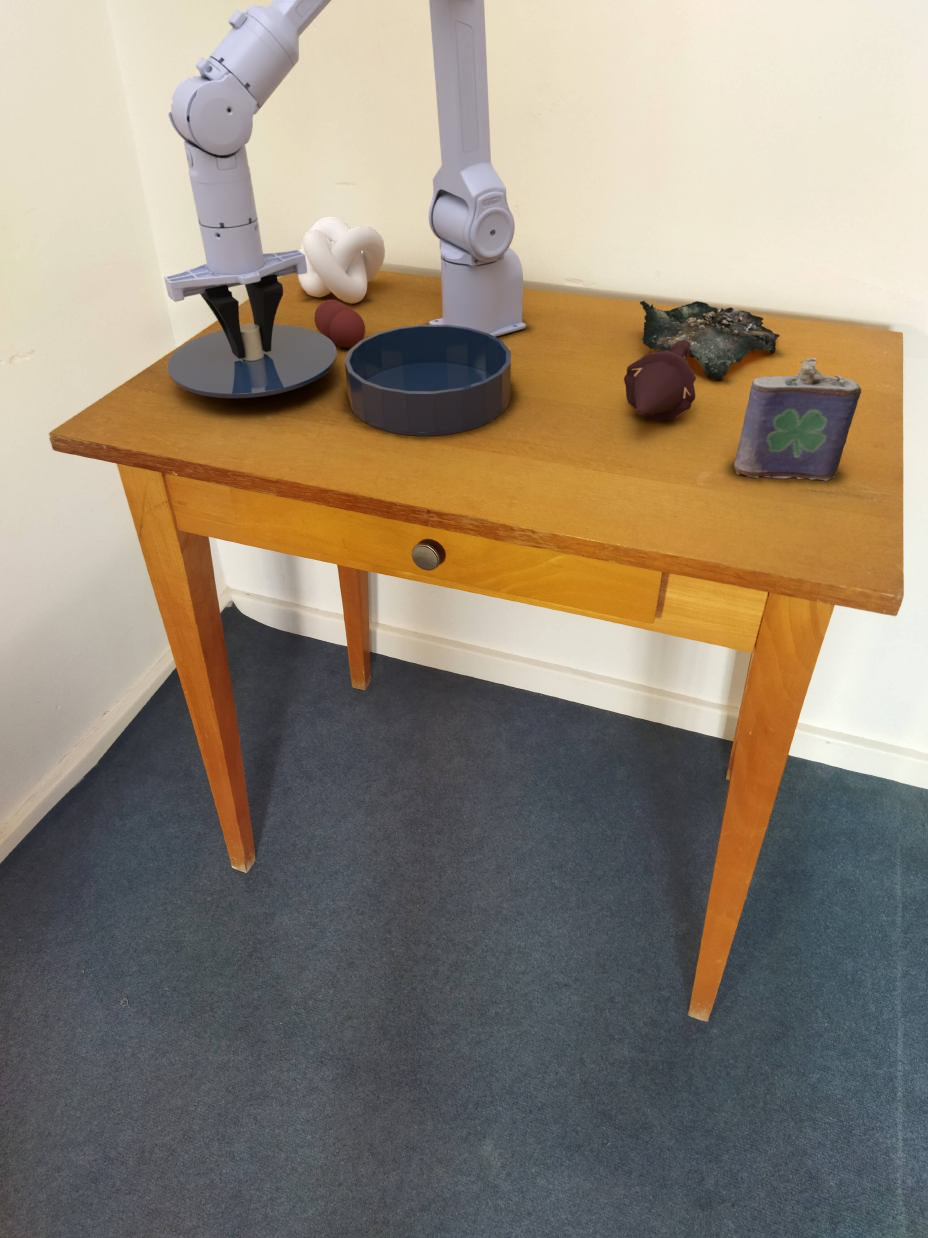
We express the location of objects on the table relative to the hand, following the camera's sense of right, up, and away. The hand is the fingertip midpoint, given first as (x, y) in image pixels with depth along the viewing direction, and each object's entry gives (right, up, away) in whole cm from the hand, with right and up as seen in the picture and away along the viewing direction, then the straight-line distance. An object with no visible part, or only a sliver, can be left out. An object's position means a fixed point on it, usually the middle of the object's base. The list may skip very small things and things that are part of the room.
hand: (251, 351), depth 96 cm
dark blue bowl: (+19, -5, -1) cm, 20 cm away
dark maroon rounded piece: (+43, -8, -5) cm, 44 cm away
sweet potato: (+8, +5, +11) cm, 14 cm away
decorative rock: (+52, +3, +8) cm, 53 cm away
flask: (+53, -15, -14) cm, 57 cm away
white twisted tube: (+7, +15, +23) cm, 29 cm away
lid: (0, -1, +1) cm, 1 cm away
